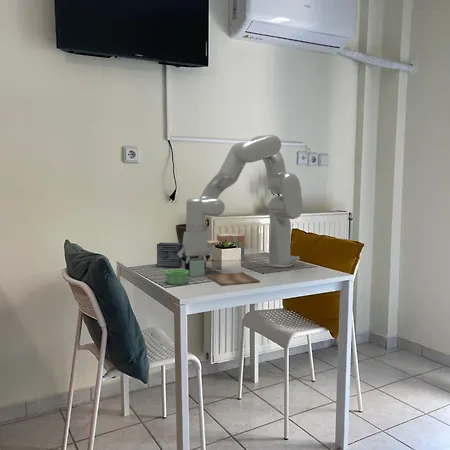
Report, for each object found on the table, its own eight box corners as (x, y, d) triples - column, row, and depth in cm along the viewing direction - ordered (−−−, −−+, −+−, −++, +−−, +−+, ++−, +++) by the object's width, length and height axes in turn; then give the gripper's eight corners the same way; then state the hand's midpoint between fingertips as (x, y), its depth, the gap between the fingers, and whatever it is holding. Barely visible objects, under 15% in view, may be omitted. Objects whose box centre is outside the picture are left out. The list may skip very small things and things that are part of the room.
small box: (182, 265, 206) (182, 242, 205) (180, 268, 200) (180, 244, 198) (160, 264, 207) (159, 241, 206) (156, 267, 201) (156, 244, 199)
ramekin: (183, 278, 181) (183, 268, 180) (192, 283, 173) (192, 272, 172) (162, 281, 177) (162, 270, 176) (170, 286, 169) (170, 274, 168)
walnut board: (242, 273, 191) (242, 272, 191) (259, 282, 176) (259, 280, 176) (206, 276, 185) (207, 275, 185) (221, 285, 170) (221, 284, 170)
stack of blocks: (201, 262, 214) (201, 236, 212) (198, 259, 219) (198, 234, 218) (244, 260, 220) (244, 235, 218) (240, 257, 226) (240, 233, 224)
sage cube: (199, 271, 193) (199, 257, 192) (204, 274, 187) (204, 260, 187) (186, 272, 191) (186, 258, 190) (190, 276, 185) (190, 261, 184)
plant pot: (205, 260, 217) (206, 227, 215) (174, 260, 216) (174, 227, 214) (206, 254, 231) (206, 223, 229) (176, 254, 231) (176, 223, 229)
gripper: (211, 226, 193) (211, 268, 196) (172, 228, 187) (172, 271, 189) (218, 228, 187) (217, 271, 189) (177, 230, 180) (177, 275, 182)
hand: (195, 271), depth 189 cm, fingers closed on sage cube, 6 cm apart
